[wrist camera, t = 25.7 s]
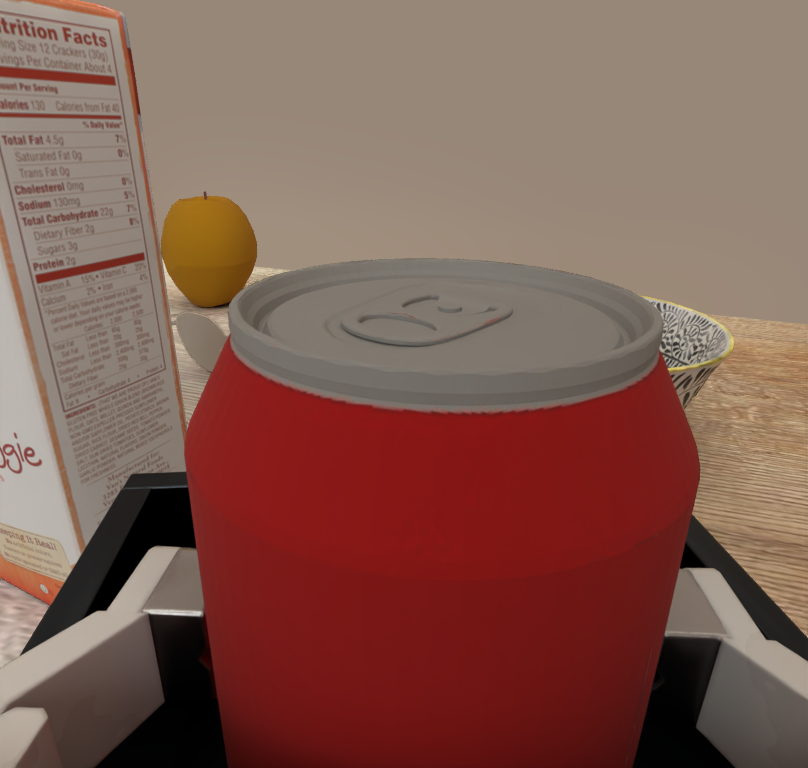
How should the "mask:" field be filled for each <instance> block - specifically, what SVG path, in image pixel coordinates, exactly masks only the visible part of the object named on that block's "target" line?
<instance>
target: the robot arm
mask: <svg viewBox="0 0 808 768" xmlns="http://www.w3.org/2000/svg"><path fill="white" fill-rule="evenodd" d="M164 699H201V700H216V699H217V690H216V683H215V676H214V669H213V662H212V656H211V649H210V642H209V635H208V628H207V621H206V614H205V607H204V600H203V593H202V585H201V578H200V570H199V563H198V555H197V548H191V547H183V548H181V547H168V546H155V547H153V548H151V549H149V550H148V552H147V553H146V554H145V556H144V557H143V559H142V560H141V562H140V563H139V565H138V566H137V567H136V569H135V570H134V572H133V573H132V575H131V576H130V577H129V579H128V580H127V582H126V583H125V585H124V586H123V588H122V589H121V590H120V592H119V593H118V595H117V596H116V598H115V599H114V601H113V602H112V603H111V605H110V606H109V608H108V609H107V611H96V612H95V613H93V614H91V615H89V616H88V617H86V618H84V619H83V620H81V621H79V622H77V623H76V624H74V625H72V626H71V627H69V628H67V629H65V630H64V631H62V632H60V633H59V634H57V635H55V636H53V637H52V638H50V639H48V640H47V641H45V642H43V643H41V644H40V645H38V646H36V647H35V648H33V649H31V650H29V651H28V652H26V653H24V654H23V655H21V656H19V657H17V658H16V659H14V660H12V661H11V662H9V663H7V664H5V665H4V666H2V667H0V768H95V767H96V766H97V765H98V764H99V763H100V762H101V761H102V760H103V759H104V758H105V757H106V756H107V755H109V754H110V753H111V752H112V751H113V750H114V749H115V748H116V747H117V746H118V745H119V744H120V743H121V742H122V741H124V740H125V739H126V738H127V737H128V736H129V735H130V734H131V733H132V732H133V731H134V730H135V729H136V728H137V727H138V726H140V725H141V724H142V723H143V722H144V721H145V720H146V719H147V718H148V717H149V716H150V715H151V714H152V713H153V712H155V711H156V710H157V709H158V708H159V707H160V706H161V705H162V704H163V703H164V702H165V700H164ZM644 721H655V722H668V723H681V724H694V725H696V728H697V729H698V730H699V731H700V732H701V733H702V734H703V735H704V736H705V737H706V738H707V739H708V740H709V741H710V742H711V743H712V744H713V745H714V747H715V748H716V749H717V750H718V751H719V752H720V753H721V754H722V755H723V756H724V757H725V758H726V759H727V760H728V761H729V762H730V763H731V764H732V765H733V766H734V767H735V768H808V661H806V660H805V659H803V658H802V657H800V656H799V655H797V654H796V653H794V652H793V651H791V650H789V649H788V648H786V647H785V646H783V645H782V644H780V643H779V642H777V641H772V640H766V639H765V637H764V636H763V634H762V633H761V632H760V630H759V629H758V627H757V626H756V624H755V623H754V621H753V620H752V618H751V617H750V616H749V614H748V613H747V611H746V610H745V608H744V607H743V605H742V604H741V602H740V601H739V599H738V598H737V597H736V595H735V594H734V592H733V591H732V589H731V588H730V586H729V585H728V583H727V582H726V580H725V579H724V578H723V576H722V575H721V573H720V572H719V571H717V570H716V569H714V568H683V569H681V568H679V573H678V577H677V582H676V586H675V590H674V595H673V599H672V604H671V608H670V613H669V617H668V621H667V626H666V630H665V634H664V638H663V643H662V647H661V651H660V655H659V659H658V664H657V668H656V672H655V676H654V680H653V685H652V689H651V693H650V697H649V701H648V706H647V710H646V714H645V718H644Z"/></svg>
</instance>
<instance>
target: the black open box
mask: <svg viewBox="0 0 808 768" xmlns="http://www.w3.org/2000/svg"><path fill="white" fill-rule="evenodd" d="M155 546H168V547H181V548H183V547H191V548H196V540H195V533H194V525H193V518H192V510H191V503H190V495H189V487H188V480H187V472H162V473H137V474H131V475H130V476H129V478H128V480H127V481H126V483H125V485H124V486H123V488H122V490H120V492H119V493H118V495H117V497H116V498H115V500H114V502H113V503H112V505H111V506H110V508H109V510H108V511H107V513H106V515H105V516H104V518H103V520H102V521H101V523H100V525H99V526H98V528H97V529H96V531H95V533H94V534H93V536H92V538H91V539H90V541H89V543H88V544H87V546H86V548H85V549H84V551H83V552H82V554H81V556H80V557H79V559H78V561H77V562H76V564H75V566H74V567H73V569H72V571H71V572H70V574H69V575H68V577H67V579H66V580H65V582H64V584H63V585H62V587H61V589H60V590H59V592H58V594H57V595H56V597H55V599H54V600H53V602H52V603H51V605H50V607H49V608H48V610H47V612H46V613H45V615H44V617H43V618H42V620H41V622H40V623H39V625H38V626H37V628H36V630H35V631H34V633H33V635H32V636H31V638H30V640H29V641H28V643H27V645H26V646H25V648H24V649H23V651H22V653H21V654H20V656H21V655H23V654H24V653H26V652H28V651H29V650H31V649H33V648H35V647H36V646H38V645H40V644H41V643H43V642H45V641H47V640H48V639H50V638H52V637H53V636H55V635H57V634H59V633H60V632H62V631H64V630H65V629H67V628H69V627H71V626H72V625H74V624H76V623H77V622H79V621H81V620H83V619H84V618H86V617H88V616H89V615H91V614H93V613H95V612H96V611H107V609H108V608H109V606H110V605H111V603H112V602H113V601H114V599H115V598H116V596H117V595H118V593H119V592H120V590H121V589H122V588H123V586H124V585H125V583H126V582H127V580H128V579H129V577H130V576H131V575H132V573H133V572H134V570H135V569H136V567H137V566H138V565H139V563H140V562H141V560H142V559H143V557H144V556H145V554H146V553H147V552H148V550H149V549H151V548H153V547H155ZM680 568H681V569H683V568H714V569H716V570H717V571H719V572H720V573H721V575H722V576H723V578H724V579H725V580H726V582H727V583H728V585H729V586H730V588H731V589H732V591H733V592H734V594H735V595H736V597H737V598H738V599H739V601H740V602H741V604H742V605H743V607H744V608H745V610H746V611H747V613H748V614H749V616H750V617H751V618H752V620H753V621H754V623H755V624H756V626H757V627H758V629H759V630H760V632H761V633H762V634H763V636H764V637H765V639H766V640H772V641H777V642H779V643H780V644H782V645H783V646H785V647H786V648H788V649H789V650H791V651H793V652H794V653H796V654H797V655H799V656H800V657H802V658H803V659H805V660H806V661H808V638H807V637H806V635H805V634H804V633H803V632H802V631H801V630H800V629H799V628H798V627H797V626H796V625H795V624H794V623H793V622H792V621H791V619H790V618H789V617H788V616H787V615H786V614H785V613H784V612H783V611H782V610H781V609H780V608H779V607H778V606H777V605H776V603H775V602H774V601H773V600H772V599H771V598H770V597H769V596H768V595H767V594H766V593H765V592H764V591H763V590H762V588H761V587H760V586H759V585H758V584H757V583H756V582H755V581H754V580H753V579H752V578H751V577H750V576H749V575H748V574H747V572H746V571H745V570H744V569H743V568H742V567H741V566H740V565H739V564H738V563H737V562H736V561H735V560H734V559H733V558H732V556H731V555H730V554H729V553H728V552H727V551H726V550H725V549H724V548H723V547H722V546H721V545H720V544H719V543H718V542H717V540H716V539H715V538H714V537H713V536H712V535H711V534H710V533H709V532H708V531H707V530H706V529H705V528H704V527H703V525H702V524H701V523H700V522H699V521H698V520H697V519H696V518H695V517H694V516H693V515H691V520H690V524H689V529H688V533H687V537H686V542H685V546H684V551H683V555H682V559H681V564H680ZM164 700H165V702H164V703H163V704H162V705H161V706H160V707H159V708H158V709H157V710H156V711H155V712H153V713H152V714H151V715H150V716H149V717H148V718H147V719H146V720H145V721H144V722H143V723H142V724H141V725H140V726H138V727H137V728H136V729H135V730H134V731H133V732H132V733H131V734H130V735H129V736H128V737H127V738H126V739H125V740H124V741H122V742H121V743H120V744H119V745H118V746H117V747H116V748H115V749H114V750H113V751H112V752H111V753H110V754H109V755H107V756H106V757H105V758H104V759H103V760H102V761H101V762H100V763H99V764H98V765H97V766H96V767H95V768H228V764H227V757H226V751H225V745H224V738H223V732H222V725H221V718H220V711H219V704H218V697H217V699H216V700H201V699H164ZM632 768H735V767H734V766H733V765H732V764H731V763H730V762H729V761H728V760H727V759H726V758H725V757H724V756H723V755H722V754H721V753H720V752H719V751H718V750H717V749H716V748H715V747H714V745H713V744H712V743H711V742H710V741H709V740H708V739H707V738H706V737H705V736H704V735H703V734H702V733H701V732H700V731H699V730H698V729H697V728H696V725H694V724H681V723H668V722H655V721H644V722H643V727H642V731H641V735H640V739H639V743H638V747H637V751H636V755H635V759H634V763H633V767H632Z"/></svg>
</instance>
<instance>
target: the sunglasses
mask: <svg viewBox="0 0 808 768" xmlns="http://www.w3.org/2000/svg"><path fill="white" fill-rule="evenodd" d="M171 323H172V325H176V326H177V330H178V333H179V336H180V338H181V341H182V343H183V345H184V347H185V349H186V350H187V352H188V354H189V355H190V356H191V358H192V359H193V360H194V361H195V362H196V363H197V364H198V365H199V366H200V367H202V368H204V369H205V370H207V371H210V372H212V371H213V369H214V366H215V364H216V362H217V360H218V357H219V355H220V353H221V351H222V349H223V346H224V344H225V342H226V340H227V338H228V337H229V335H228V336H226V335H225V333H224V332H223V330H222V329H221V328H220V326H219V325H218V324H217V323H216V322H215V321H213V320H212V319H211V318H209V317H207V316H204V315H202V314H199V313H194V312H182V313H180V314H179V315H178V317H177V319H176V321H172V322H171Z"/></svg>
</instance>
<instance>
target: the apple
mask: <svg viewBox="0 0 808 768" xmlns="http://www.w3.org/2000/svg"><path fill="white" fill-rule="evenodd" d="M161 255H162V257H163V260H164V263H165V266H166V269H167V272H168V274H169V275H170V277H171V278H172V280H173V282H174V283H175V285H176V286H177V287H178V288H179V290H180V291H181V292H182V293H183V294H184V295H185V296H186V297H187V298H188V299H189V300H190V301H191V302H192V303H193V304H195V305H197V306H200V307H213V306H217V305H222V304H225V303H228V302H230V301H232V299H233V298H234V297H235V296H236V295H237V294H238V293H239V292H240V291H241V290H243V288H244V286H245V284H246V282H247V280H248V279H249V277H250V275H251V273H252V271H253V268H254V265H255V262H256V258H257V242H256V238H255V235H254V231H253V229H252V227H251V225H250V223H249V221H248V219H247V217H246V215H245V214H244V213H243V211H242V210H241V209H240V207H239V206H238V205H237V204H235V203H234V202H232V201H231V200H230V199H228V198H225V197H218V196H206V192H204V196H202V197H193V198H189V199H179V200H178V201H177V202H176V203H174V204H173V205H172V206H171V208H170V211H169V212H168V215H167V217H166V219H165V222H164V227H163V233H162V239H161Z"/></svg>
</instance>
